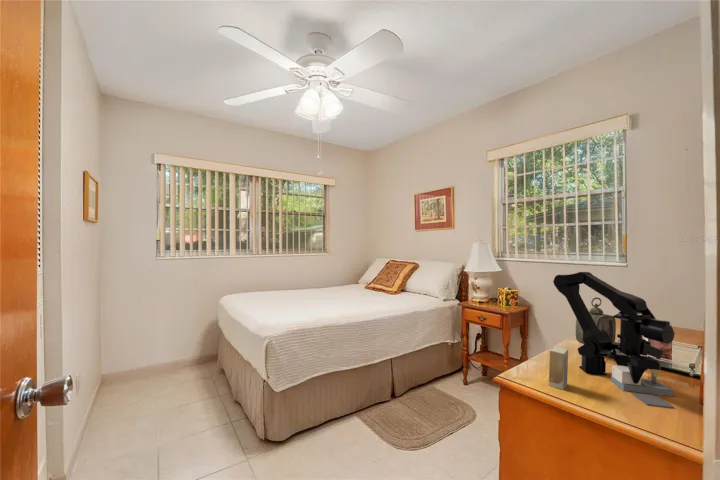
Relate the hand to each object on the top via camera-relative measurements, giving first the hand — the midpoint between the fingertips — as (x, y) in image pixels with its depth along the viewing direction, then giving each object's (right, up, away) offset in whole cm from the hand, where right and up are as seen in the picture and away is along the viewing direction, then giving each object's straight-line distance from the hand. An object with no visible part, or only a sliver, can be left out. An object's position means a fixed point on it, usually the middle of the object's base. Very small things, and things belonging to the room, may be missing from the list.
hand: (629, 379), depth 105 cm
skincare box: (-25, -2, 0) cm, 25 cm away
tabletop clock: (+13, -3, +33) cm, 36 cm away
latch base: (+3, -3, -1) cm, 4 cm away
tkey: (+6, 0, -2) cm, 7 cm away
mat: (-1, -3, -9) cm, 9 cm away
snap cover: (-1, -1, 0) cm, 1 cm away
